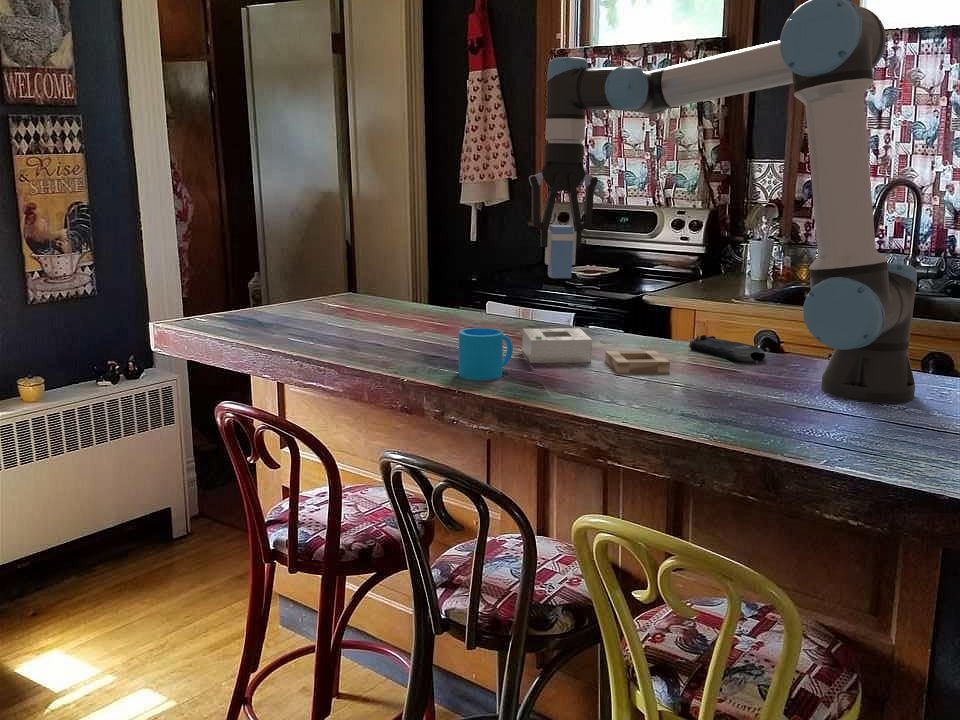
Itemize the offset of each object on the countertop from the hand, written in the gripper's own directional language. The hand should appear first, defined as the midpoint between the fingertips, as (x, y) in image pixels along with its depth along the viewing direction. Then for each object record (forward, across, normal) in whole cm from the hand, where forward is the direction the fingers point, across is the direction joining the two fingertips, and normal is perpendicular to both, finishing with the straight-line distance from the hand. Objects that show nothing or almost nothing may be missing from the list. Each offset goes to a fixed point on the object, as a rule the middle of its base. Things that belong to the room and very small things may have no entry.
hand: (559, 263), depth 181 cm
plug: (+3, 0, 0) cm, 3 cm away
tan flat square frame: (+19, -14, +10) cm, 26 cm away
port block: (+19, 0, 0) cm, 19 cm away
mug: (+19, +15, +12) cm, 27 cm away
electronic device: (+20, -36, -1) cm, 41 cm away
